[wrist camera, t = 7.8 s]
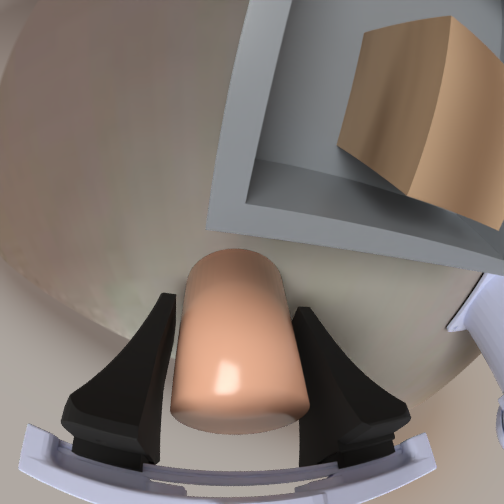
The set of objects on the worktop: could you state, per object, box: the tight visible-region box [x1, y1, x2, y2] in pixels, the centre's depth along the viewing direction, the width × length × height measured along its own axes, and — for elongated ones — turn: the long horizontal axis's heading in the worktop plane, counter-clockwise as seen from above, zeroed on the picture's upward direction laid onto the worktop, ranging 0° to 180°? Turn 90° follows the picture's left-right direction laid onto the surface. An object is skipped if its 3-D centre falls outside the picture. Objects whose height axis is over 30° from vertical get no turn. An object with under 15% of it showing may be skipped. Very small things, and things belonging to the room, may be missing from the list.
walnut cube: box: [337, 16, 504, 231], centre depth 7 cm, size 5×5×5 cm
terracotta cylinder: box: [170, 249, 310, 435], centre depth 11 cm, size 5×5×7 cm
